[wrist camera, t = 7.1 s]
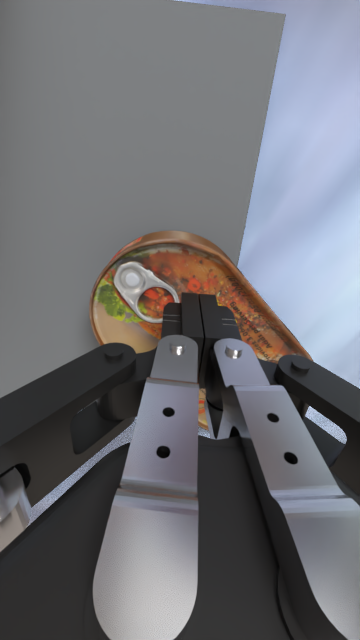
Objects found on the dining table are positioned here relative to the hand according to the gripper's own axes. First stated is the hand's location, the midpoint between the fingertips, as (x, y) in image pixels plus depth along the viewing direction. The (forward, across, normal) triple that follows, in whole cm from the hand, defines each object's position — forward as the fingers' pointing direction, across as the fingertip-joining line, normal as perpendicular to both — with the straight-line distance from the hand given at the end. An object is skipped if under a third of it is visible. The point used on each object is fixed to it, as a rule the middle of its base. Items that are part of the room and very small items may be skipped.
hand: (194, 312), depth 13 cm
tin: (+3, -4, +1) cm, 5 cm away
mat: (+4, +6, 0) cm, 7 cm away
